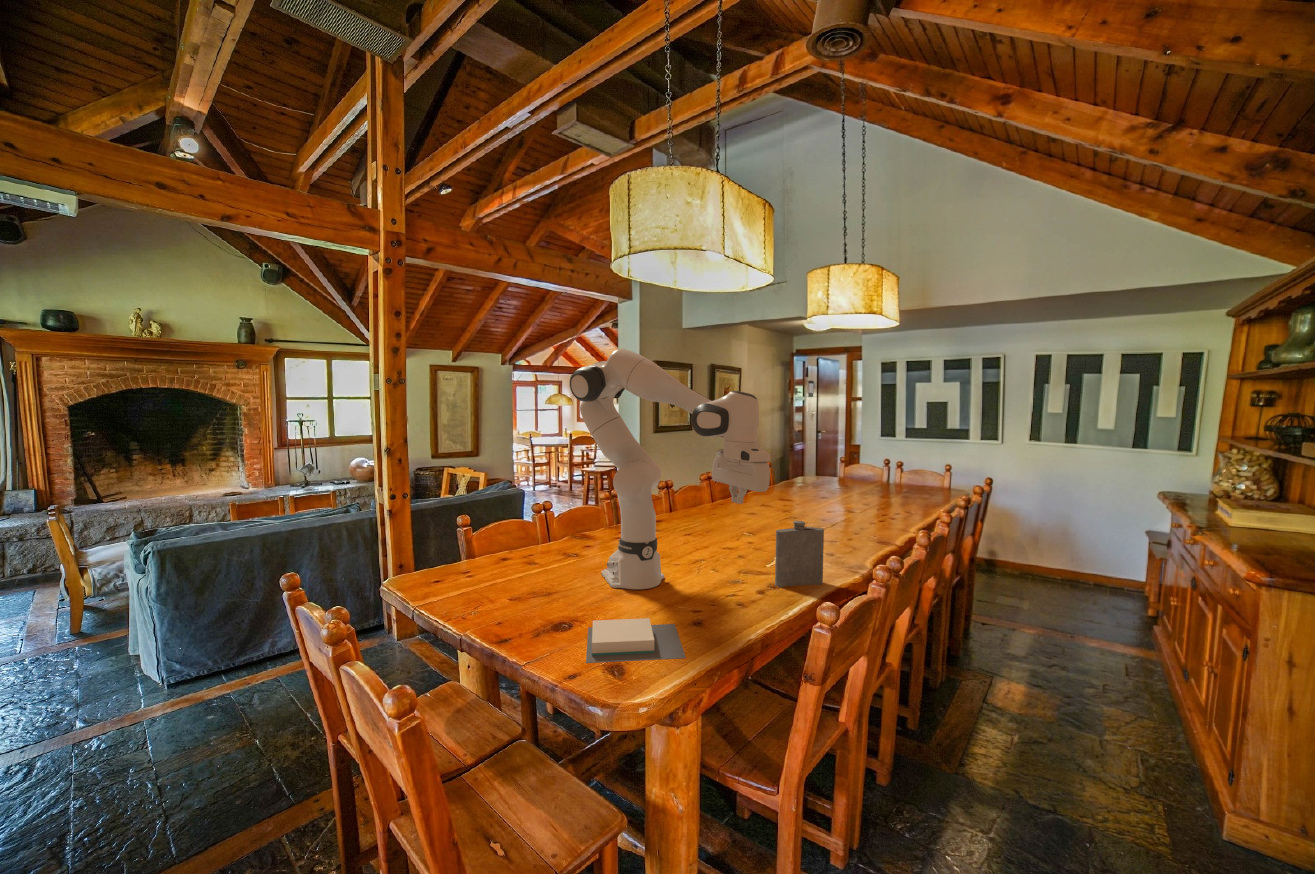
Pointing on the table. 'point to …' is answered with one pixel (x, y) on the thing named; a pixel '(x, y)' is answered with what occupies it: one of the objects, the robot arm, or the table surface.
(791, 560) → the hip flask
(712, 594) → the table surface
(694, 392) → the robot arm
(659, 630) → the mat
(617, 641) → the tile
